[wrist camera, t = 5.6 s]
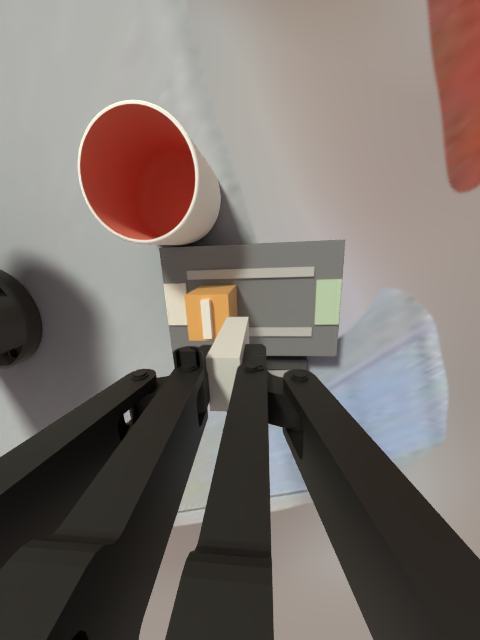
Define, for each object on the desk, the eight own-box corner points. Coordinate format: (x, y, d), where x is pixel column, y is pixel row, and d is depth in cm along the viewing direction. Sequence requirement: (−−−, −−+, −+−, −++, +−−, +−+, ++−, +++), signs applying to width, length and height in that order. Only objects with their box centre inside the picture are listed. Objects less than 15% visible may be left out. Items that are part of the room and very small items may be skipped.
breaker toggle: (204, 322, 29) (187, 342, 23) (201, 285, 28) (182, 296, 21) (238, 322, 28) (229, 343, 22) (236, 284, 27) (226, 295, 21)
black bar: (189, 364, 34) (187, 368, 33) (188, 354, 34) (186, 358, 33) (305, 365, 32) (306, 370, 31) (305, 356, 32) (307, 360, 31)
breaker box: (180, 345, 34) (171, 355, 30) (169, 248, 30) (158, 247, 27) (330, 346, 31) (337, 357, 28) (337, 240, 28) (346, 239, 24)
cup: (197, 261, 30) (164, 267, 21) (127, 216, 30) (60, 201, 20) (239, 183, 27) (223, 148, 18) (162, 132, 27) (103, 67, 17)
